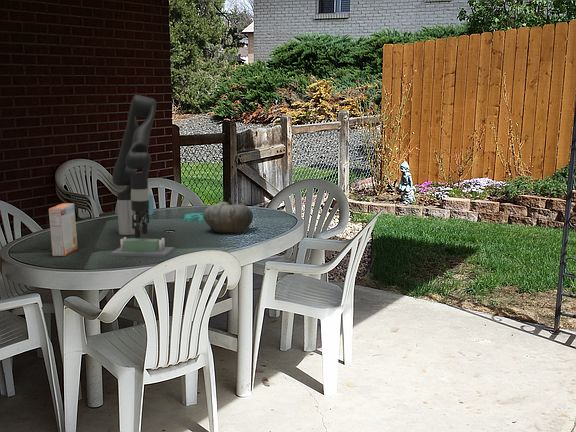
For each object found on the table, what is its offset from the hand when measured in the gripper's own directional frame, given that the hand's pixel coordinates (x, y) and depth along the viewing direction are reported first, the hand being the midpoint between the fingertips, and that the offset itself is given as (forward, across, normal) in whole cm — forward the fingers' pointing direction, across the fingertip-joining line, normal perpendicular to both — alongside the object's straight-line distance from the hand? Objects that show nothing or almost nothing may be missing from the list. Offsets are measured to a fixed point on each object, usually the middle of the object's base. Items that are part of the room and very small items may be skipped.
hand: (141, 235), depth 295 cm
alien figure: (+9, +85, -3) cm, 85 cm away
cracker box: (+8, -4, +34) cm, 35 cm away
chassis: (+7, 0, 0) cm, 7 cm away
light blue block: (+9, +90, +32) cm, 96 cm away
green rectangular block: (+6, 0, 0) cm, 6 cm away
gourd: (+8, +52, -26) cm, 59 cm away
